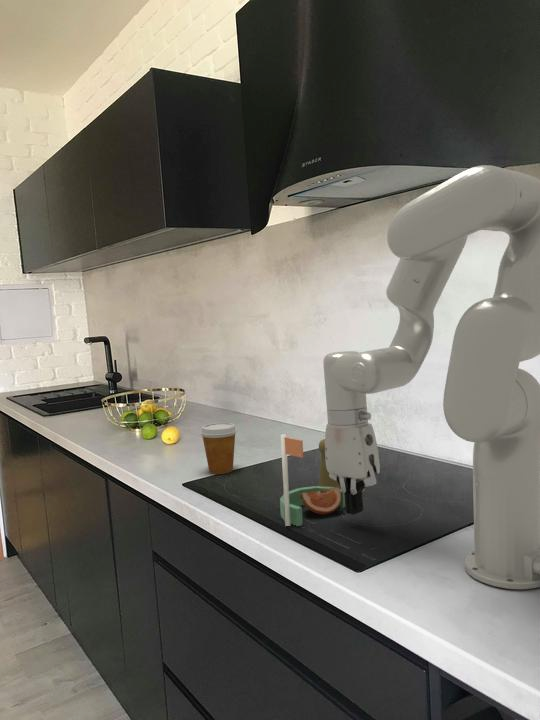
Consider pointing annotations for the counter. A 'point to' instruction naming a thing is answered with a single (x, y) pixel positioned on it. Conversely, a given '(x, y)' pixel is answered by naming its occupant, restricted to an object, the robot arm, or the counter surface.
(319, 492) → the fruit slice
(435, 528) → the counter surface
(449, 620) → the counter surface
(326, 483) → the cork
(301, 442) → the green segmented arc
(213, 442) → the disposable coffee cup
